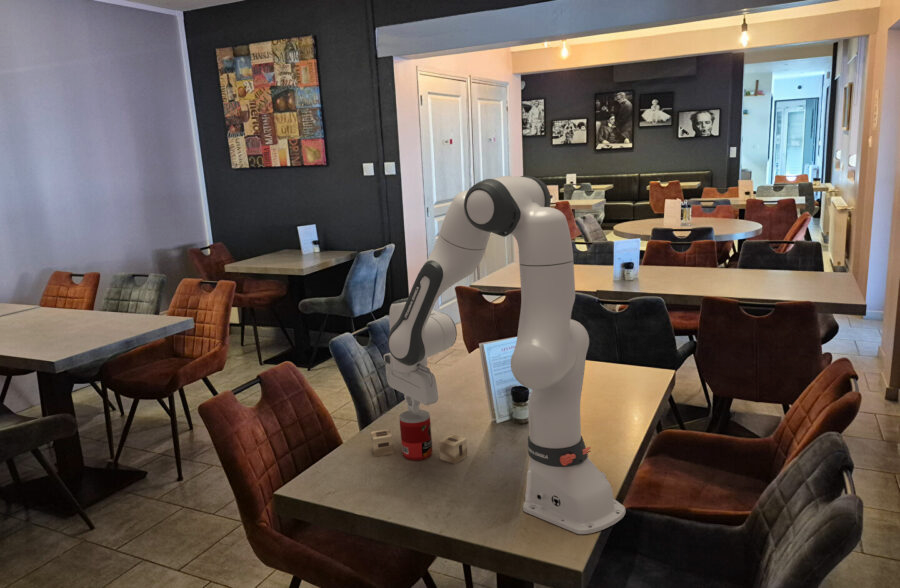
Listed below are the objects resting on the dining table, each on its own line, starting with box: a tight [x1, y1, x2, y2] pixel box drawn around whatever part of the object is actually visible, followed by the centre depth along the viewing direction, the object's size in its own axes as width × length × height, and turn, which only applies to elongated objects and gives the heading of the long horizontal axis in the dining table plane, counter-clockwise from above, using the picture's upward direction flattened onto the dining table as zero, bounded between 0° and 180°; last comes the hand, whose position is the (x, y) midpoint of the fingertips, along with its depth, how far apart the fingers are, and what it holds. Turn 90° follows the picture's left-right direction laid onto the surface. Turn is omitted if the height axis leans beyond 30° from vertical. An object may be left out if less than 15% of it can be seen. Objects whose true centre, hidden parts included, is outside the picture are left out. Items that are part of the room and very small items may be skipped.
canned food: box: [399, 409, 433, 461], centre depth 169 cm, size 8×8×11 cm
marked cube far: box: [370, 428, 395, 457], centre depth 173 cm, size 5×5×5 cm
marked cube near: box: [438, 434, 468, 465], centre depth 166 cm, size 5×5×5 cm
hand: (413, 411), depth 168 cm, fingers closed
